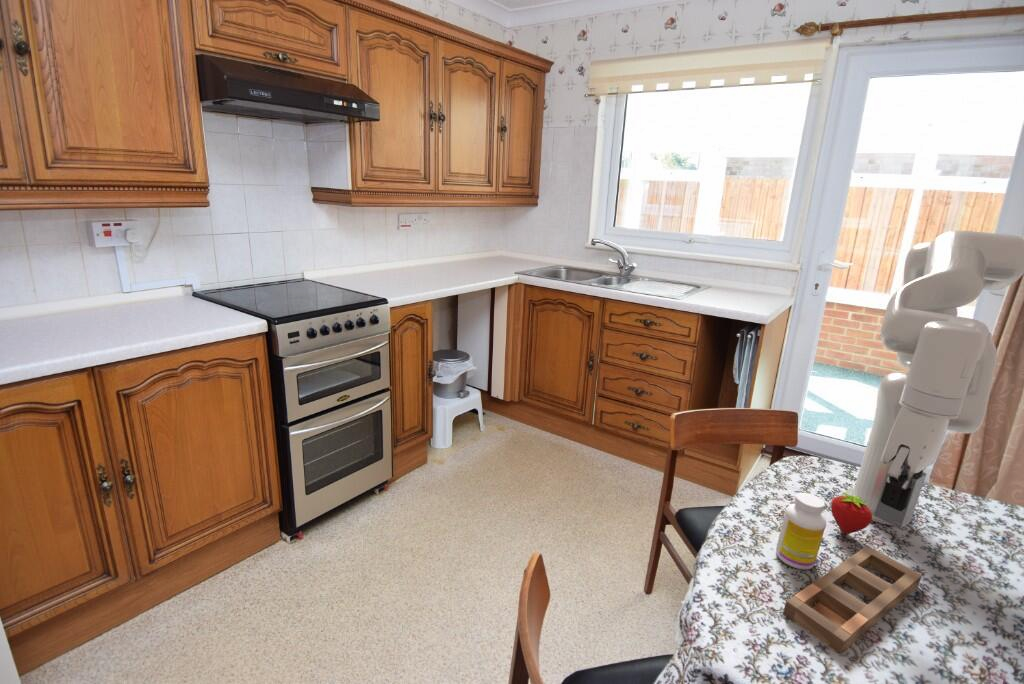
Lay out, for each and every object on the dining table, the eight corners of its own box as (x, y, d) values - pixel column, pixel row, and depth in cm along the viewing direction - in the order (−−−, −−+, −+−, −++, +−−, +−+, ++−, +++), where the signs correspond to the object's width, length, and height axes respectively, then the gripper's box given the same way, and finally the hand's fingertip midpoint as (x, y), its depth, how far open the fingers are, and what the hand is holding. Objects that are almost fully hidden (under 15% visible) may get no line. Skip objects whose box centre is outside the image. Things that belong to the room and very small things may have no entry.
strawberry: (853, 548, 104) (867, 504, 101) (817, 526, 111) (829, 484, 108) (871, 541, 107) (885, 498, 104) (835, 519, 113) (847, 478, 110)
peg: (884, 509, 92) (898, 462, 90) (910, 521, 89) (926, 473, 87) (873, 515, 90) (888, 468, 87) (900, 528, 87) (916, 479, 84)
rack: (863, 556, 102) (867, 545, 101) (917, 586, 95) (922, 574, 94) (783, 613, 87) (786, 600, 86) (840, 654, 80) (844, 640, 79)
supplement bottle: (819, 574, 96) (837, 513, 93) (780, 567, 98) (796, 507, 94) (807, 550, 103) (823, 492, 99) (771, 544, 104) (785, 486, 100)
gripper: (923, 385, 91) (893, 479, 96) (880, 400, 82) (850, 504, 87) (978, 400, 85) (943, 500, 90) (939, 419, 76) (902, 530, 81)
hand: (897, 501), depth 89 cm, fingers closed on peg, 4 cm apart
